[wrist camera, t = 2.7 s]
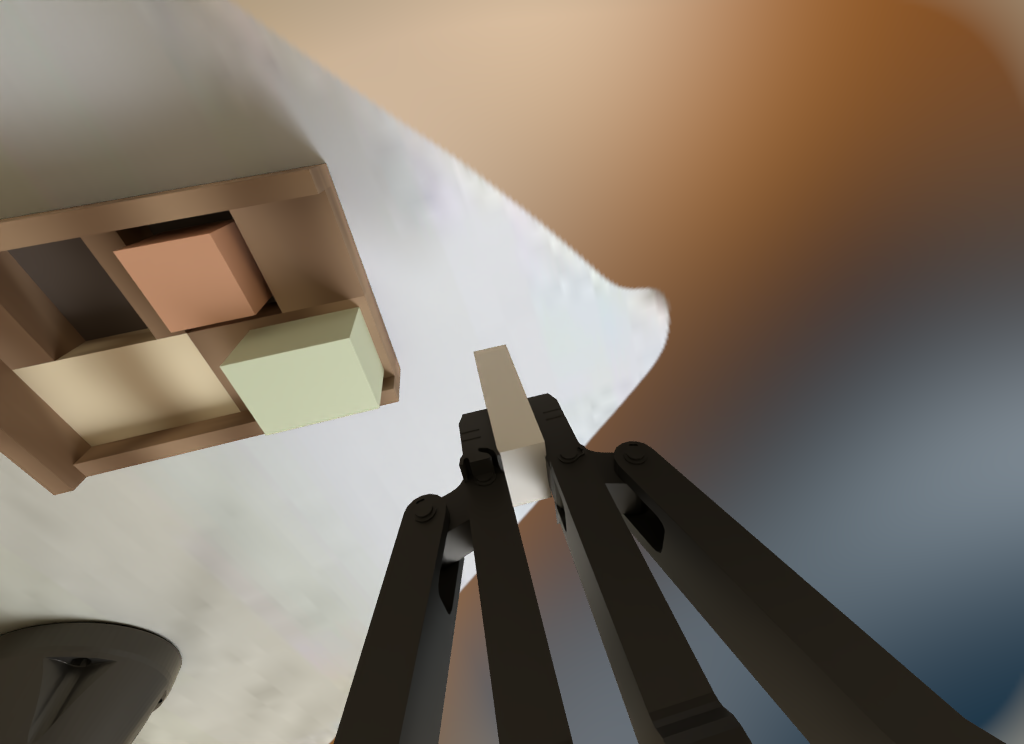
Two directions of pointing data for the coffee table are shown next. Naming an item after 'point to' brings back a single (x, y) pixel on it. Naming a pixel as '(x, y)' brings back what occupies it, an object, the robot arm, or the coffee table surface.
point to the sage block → (307, 371)
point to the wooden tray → (156, 323)
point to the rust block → (197, 275)
